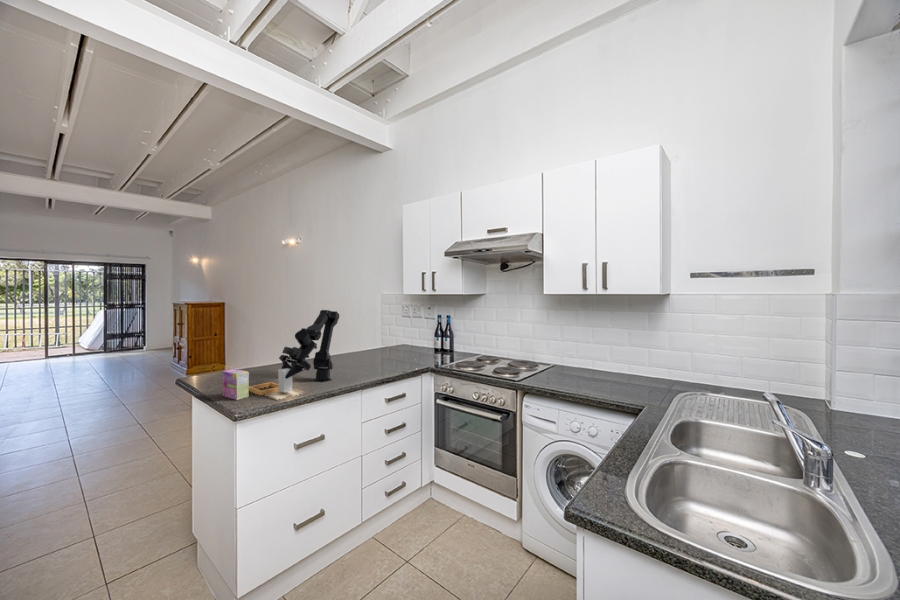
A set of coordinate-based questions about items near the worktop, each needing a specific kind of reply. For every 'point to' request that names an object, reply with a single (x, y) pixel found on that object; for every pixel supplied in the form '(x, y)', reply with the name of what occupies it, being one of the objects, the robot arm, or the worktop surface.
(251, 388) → the square wooden frame
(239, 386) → the box
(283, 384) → the block
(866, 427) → the worktop surface
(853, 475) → the worktop surface
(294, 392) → the board
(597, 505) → the worktop surface
